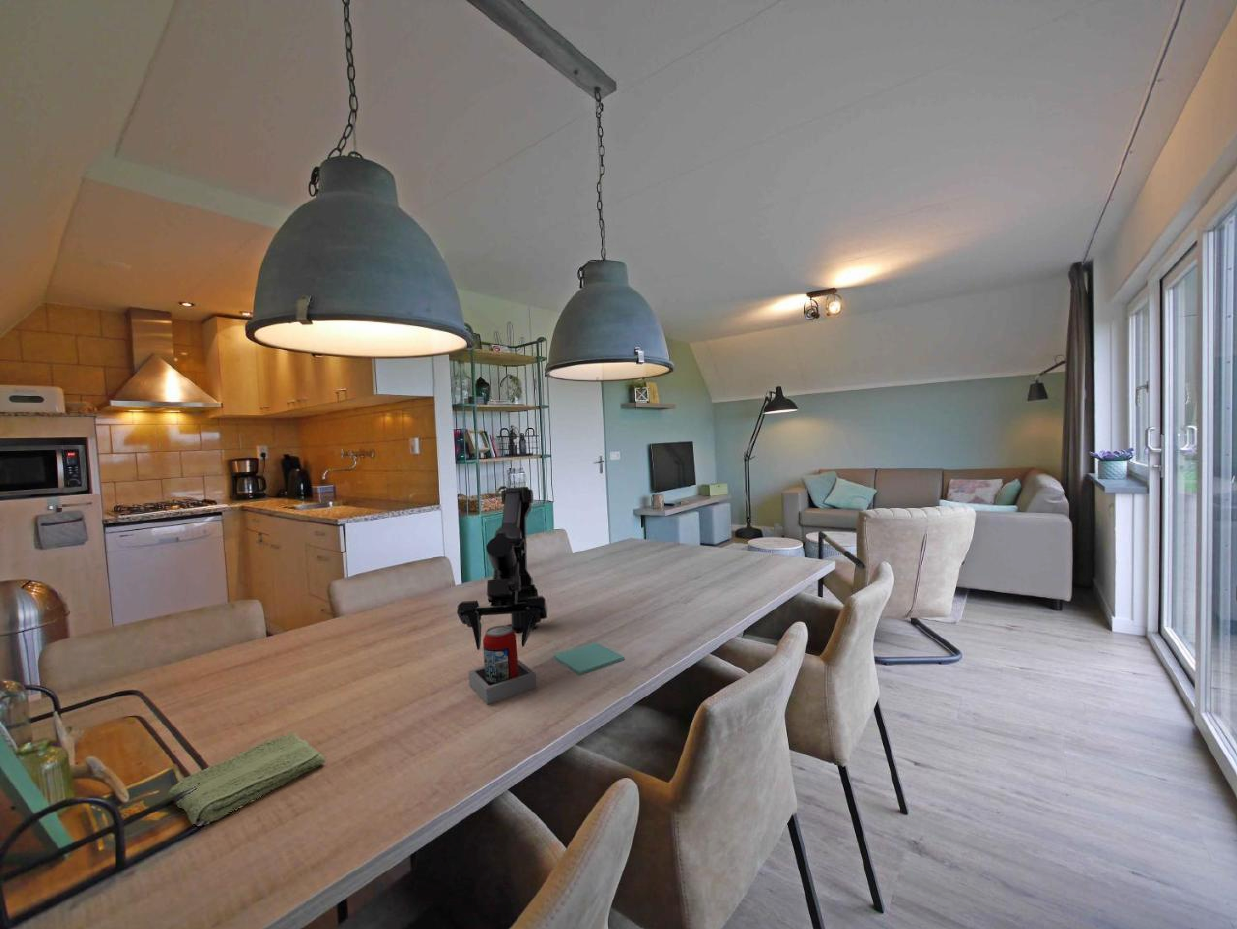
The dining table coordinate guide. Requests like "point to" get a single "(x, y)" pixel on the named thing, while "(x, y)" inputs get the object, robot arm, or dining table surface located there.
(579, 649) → the teal mat
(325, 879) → the dining table surface
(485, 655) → the beverage can
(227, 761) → the washcloth
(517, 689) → the can holder
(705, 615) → the dining table surface
